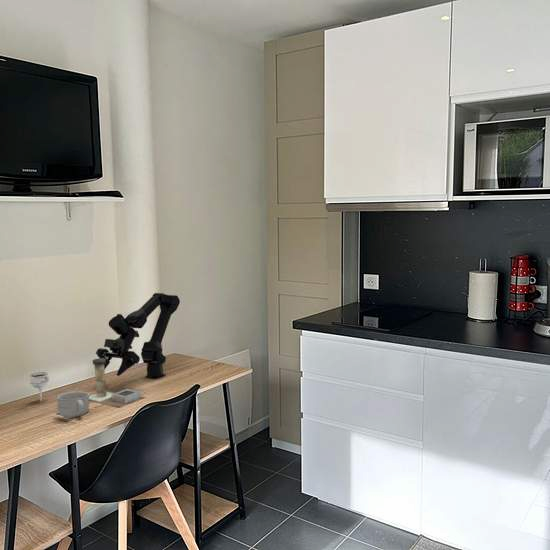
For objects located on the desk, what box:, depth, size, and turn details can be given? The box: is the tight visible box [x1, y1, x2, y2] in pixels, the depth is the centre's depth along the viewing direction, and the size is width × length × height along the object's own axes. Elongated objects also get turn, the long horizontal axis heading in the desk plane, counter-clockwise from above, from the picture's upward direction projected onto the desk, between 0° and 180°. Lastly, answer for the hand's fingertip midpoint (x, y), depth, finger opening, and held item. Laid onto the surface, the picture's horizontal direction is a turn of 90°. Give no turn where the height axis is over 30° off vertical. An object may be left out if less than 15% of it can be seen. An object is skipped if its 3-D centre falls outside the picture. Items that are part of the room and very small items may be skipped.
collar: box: [111, 388, 142, 404], centre depth 211 cm, size 8×8×2 cm
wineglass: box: [29, 371, 50, 403], centre depth 211 cm, size 7×7×12 cm
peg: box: [92, 357, 107, 397], centre depth 214 cm, size 5×5×14 cm
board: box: [89, 388, 146, 409], centre depth 213 cm, size 13×22×1 cm, turn 56°
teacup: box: [56, 391, 90, 420], centre depth 196 cm, size 14×11×8 cm
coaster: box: [89, 392, 114, 404], centre depth 214 cm, size 9×9×1 cm
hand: (108, 374), depth 218 cm, fingers open, 9 cm apart
